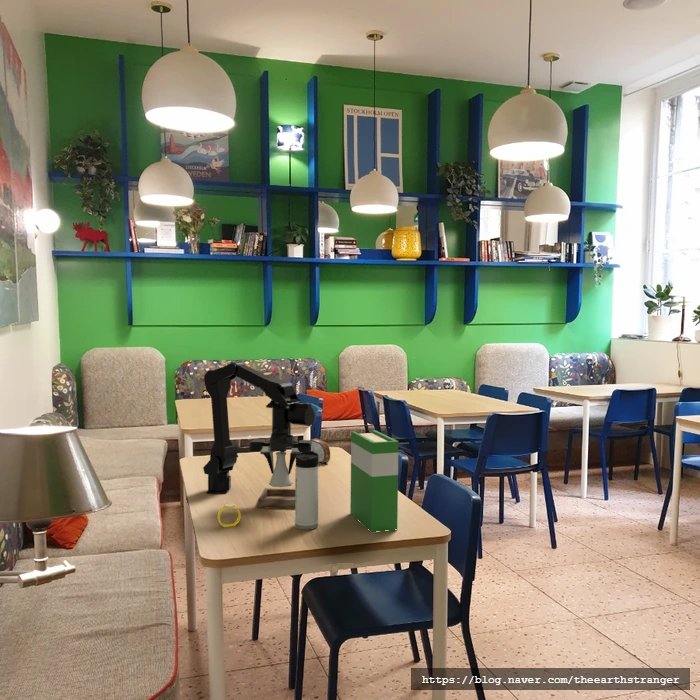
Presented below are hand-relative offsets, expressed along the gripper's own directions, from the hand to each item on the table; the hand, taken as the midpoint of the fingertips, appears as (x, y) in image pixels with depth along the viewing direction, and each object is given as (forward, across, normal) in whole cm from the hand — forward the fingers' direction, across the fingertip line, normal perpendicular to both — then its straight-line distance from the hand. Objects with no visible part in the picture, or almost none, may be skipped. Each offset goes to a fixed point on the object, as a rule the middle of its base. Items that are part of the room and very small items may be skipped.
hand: (281, 473), depth 191 cm
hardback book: (+9, +28, -17) cm, 34 cm away
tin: (+9, +7, +57) cm, 58 cm away
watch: (+9, -11, -23) cm, 27 cm away
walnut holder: (+9, 0, 0) cm, 9 cm away
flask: (+4, 0, 0) cm, 4 cm away
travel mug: (+9, +10, -22) cm, 26 cm away
